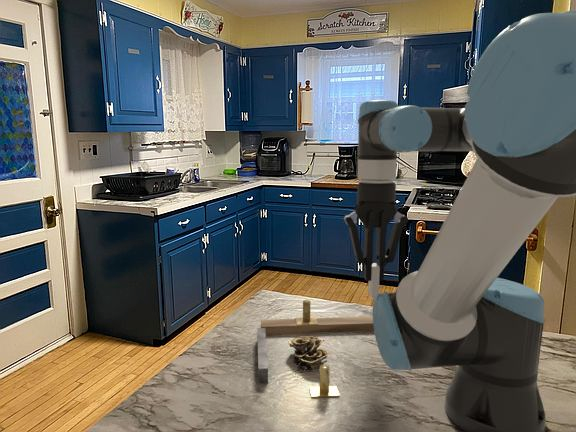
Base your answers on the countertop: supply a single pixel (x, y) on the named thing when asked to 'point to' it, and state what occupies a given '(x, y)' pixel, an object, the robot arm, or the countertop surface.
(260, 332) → the end stop
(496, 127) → the robot arm
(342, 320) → the beam plank
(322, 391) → the near post
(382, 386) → the countertop surface
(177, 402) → the countertop surface
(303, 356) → the mushroom
